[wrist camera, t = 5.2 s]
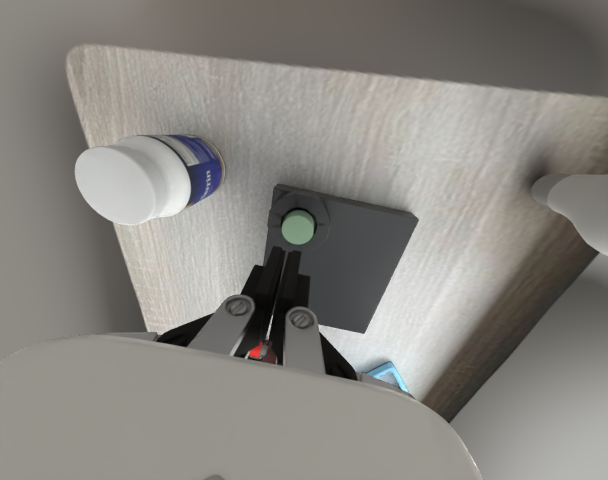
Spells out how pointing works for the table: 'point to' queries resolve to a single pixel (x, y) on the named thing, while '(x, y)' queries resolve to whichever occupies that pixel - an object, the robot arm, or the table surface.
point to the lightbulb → (578, 203)
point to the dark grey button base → (342, 252)
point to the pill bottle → (148, 176)
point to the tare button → (298, 227)
